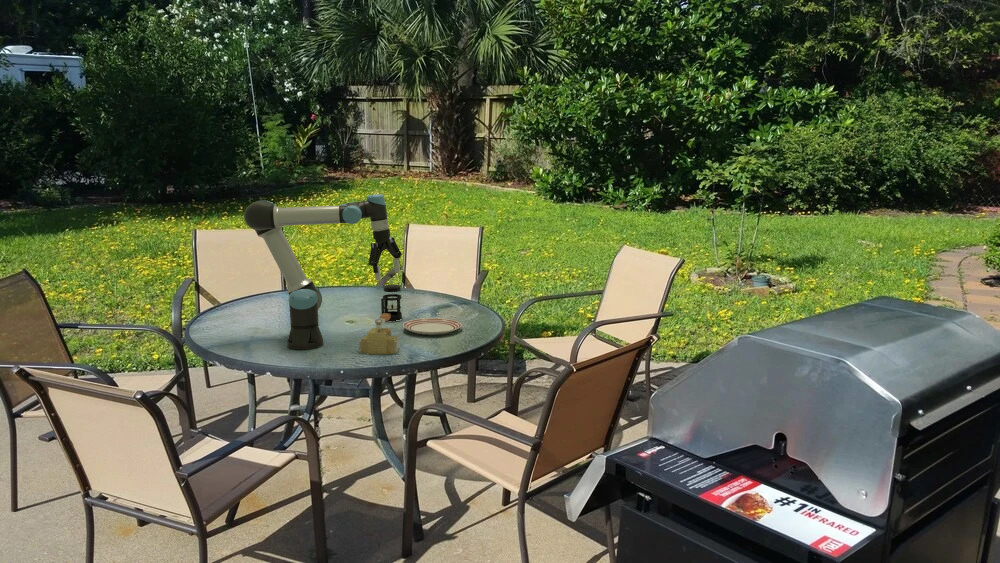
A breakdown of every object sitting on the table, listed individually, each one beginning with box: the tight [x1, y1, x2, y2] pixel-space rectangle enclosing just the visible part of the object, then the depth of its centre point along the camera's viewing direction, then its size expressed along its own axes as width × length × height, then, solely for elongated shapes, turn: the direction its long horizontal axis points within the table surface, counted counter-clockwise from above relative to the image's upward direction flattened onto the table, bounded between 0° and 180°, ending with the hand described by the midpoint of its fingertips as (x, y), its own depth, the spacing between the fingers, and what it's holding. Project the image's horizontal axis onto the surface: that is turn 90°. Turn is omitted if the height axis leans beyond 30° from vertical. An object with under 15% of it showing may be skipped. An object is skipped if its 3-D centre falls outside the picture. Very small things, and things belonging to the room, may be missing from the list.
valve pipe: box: [358, 327, 401, 356], centre depth 308 cm, size 16×8×9 cm, turn 85°
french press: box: [380, 273, 403, 321], centre depth 359 cm, size 12×9×23 cm
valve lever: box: [374, 312, 390, 331], centre depth 313 cm, size 3×16×4 cm, turn 175°
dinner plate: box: [402, 317, 463, 336], centre depth 343 cm, size 28×27×3 cm
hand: (388, 276), depth 330 cm, fingers open, 13 cm apart
